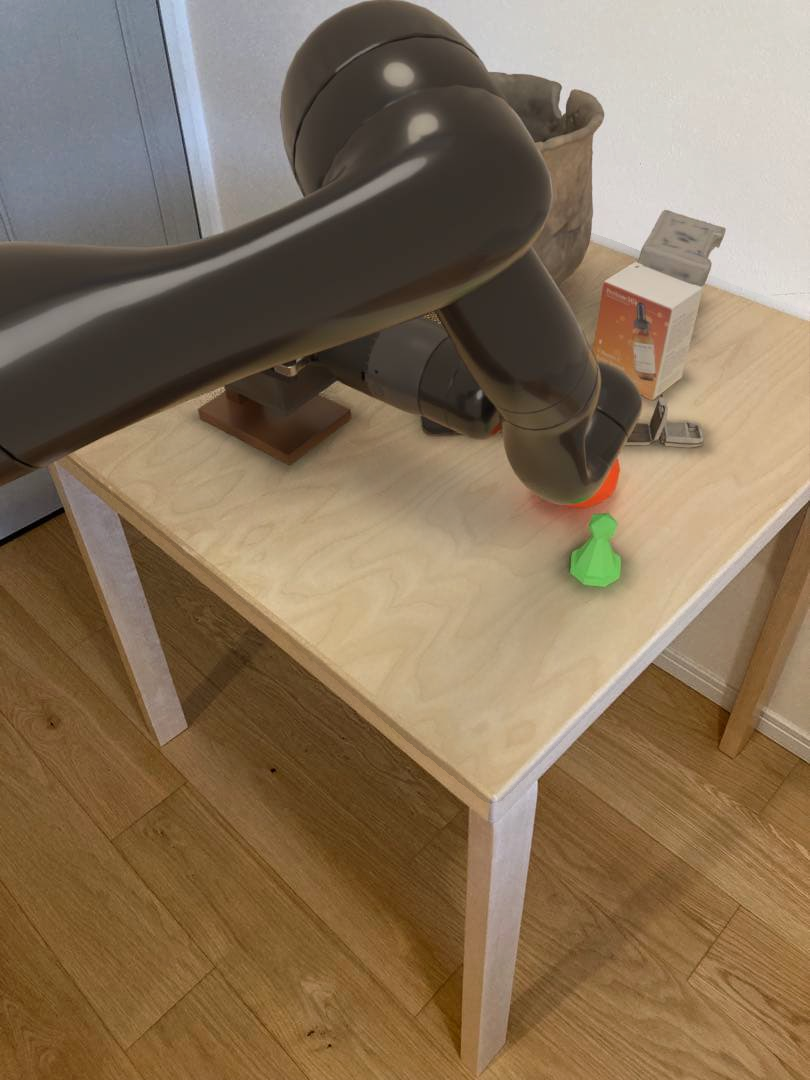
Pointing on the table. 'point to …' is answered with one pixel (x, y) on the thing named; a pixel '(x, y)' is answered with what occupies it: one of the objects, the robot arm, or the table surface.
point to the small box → (646, 326)
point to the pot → (559, 163)
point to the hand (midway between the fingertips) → (258, 299)
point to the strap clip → (665, 430)
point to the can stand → (278, 412)
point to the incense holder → (681, 247)
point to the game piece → (597, 554)
